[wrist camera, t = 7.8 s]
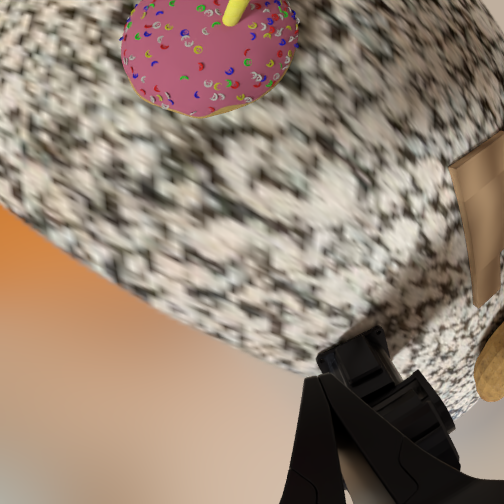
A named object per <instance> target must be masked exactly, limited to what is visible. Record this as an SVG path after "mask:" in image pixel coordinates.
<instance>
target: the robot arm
mask: <svg viewBox="0 0 504 504" xmlns="http://www.w3.org/2000/svg"><path fill="white" fill-rule="evenodd" d="M377 331H378V332H377ZM321 359H323V360H321ZM316 362H317V364H318V366H319V368H320V370H321V372H322V373H323V374H320V375H318V377H317V376H311V377H307V378H305V379H304V385H303V392H302V398H301V405H300V412H299V417H298V423H297V430H296V435H295V441H294V446H293V452H292V457H291V461H290V466H289V470H288V475H287V480H286V484H285V487H284V491H283V495H282V498H281V500H280V503H279V504H346V500H345V493H344V490H347V491H348V492H349V494H350V496H351V498H352V501H353V504H504V480H486V479H478V478H474V477H471V476H468V475H466V474H464V473H462V472H460V468H461V465H460V463H459V455H458V453H457V451H456V448H455V446H454V444H453V442H452V440H451V438H450V436H449V434H450V433H451V432H452V431H454V430H455V424H454V422H453V420H452V417H451V415H450V413H449V412H448V410H447V408H446V406H445V405H444V403H443V402H442V400H441V398H440V397H439V396H438V394H437V393H436V392H435V390H434V389H433V388H432V386H431V385H430V384H429V383H428V381H427V380H426V379H425V377H424V376H423V375H422V374H421V372H420V371H419V370H416V371H415V372H413V374H412V375H411V376H409V377H408V378H407V379H405V380H404V381H403V379H402V377H401V376H400V374H399V372H398V371H397V369H396V368H395V366H394V364H393V363H392V361H391V360H390V355H389V351H388V347H387V342H386V338H385V334H384V330H383V329H382V327H381V326H376V327H374V328H372V329H370V330H368V331H366V332H365V333H363V334H361V335H359V336H357V337H355V338H353V339H351V340H349V341H347V342H345V343H343V344H341V345H339V346H337V347H335V348H333V349H331V350H329V351H327V352H324V353H322V354H320V355H318V356H317V357H316Z"/></svg>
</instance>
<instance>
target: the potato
mask: <svg viewBox="0 0 504 504" xmlns="http://www.w3.org/2000/svg"><path fill="white" fill-rule="evenodd" d="M474 379H475V382H476V389H477V392H478V394H479V395H480V397H481V399H483V400H485V401H487V402H495V401H498V400H500V399H501V398H503V397H504V322H503V323H502V324H501V325H500V326H499V327H498V328H497V329H496V330H495V332H494V333H493V334H492V336H491V337H490V338H489V339H488V341H487V343H486V345H485V346H484V348H483V350H482V351H481V353H480V355H479V357H478V358H477V361H476V363H475V366H474Z"/></svg>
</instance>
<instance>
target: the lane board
mask: <svg viewBox="0 0 504 504" xmlns="http://www.w3.org/2000/svg"><path fill="white" fill-rule="evenodd" d="M448 168H449V172H450V175H451V178H452V182H453V186H454V189H455V193H456V197H457V201H458V205H459V209H460V214H461V218H462V223H463V228H464V233H465V239H466V244H467V251H468V257H469V265H470V273H471V282H472V294H473V305H475V306H476V307H477V308H478V309H479V308H480V307H481V306H482V305H483V304H484V303H485V302H487V301H488V300H489V299H490V298H491V297H492V296H493V295H494V294H495V293H496V292H497V291H498V290H499V289H500V288H501V278H500V252H501V251H502V250H503V249H504V131H499V132H498V133H496V134H495V135H494V136H492V137H491V138H490V139H488V140H487V141H485V142H484V143H482V144H481V145H480V146H478V147H477V148H475V149H474V150H473V151H471V152H470V153H468V154H467V155H465V156H464V157H462V158H461V159H460V160H458V161H457V162H455V163H454V164H452V165H451V166H449V167H448Z"/></svg>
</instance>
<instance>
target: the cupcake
mask: <svg viewBox="0 0 504 504" xmlns="http://www.w3.org/2000/svg"><path fill="white" fill-rule="evenodd" d="M287 3H288V4H287ZM289 5H290V3H289V2H288V1H285V0H142V1H141V2H140V3H139V4H136V6H135V9H134V10H132V12H131V16H130V17H128V18H127V24H126V25H125V27H124V33H123V37H121V38H120V39H119V41H121V40H122V47H121V57H122V63H123V66H124V69H125V72H126V74H127V75H128V78H129V81H130V83H131V85H132V87H133V89H134V91H135V92H136V93H137V95H138V96H139V97H140V98H142V99H143V100H145V101H146V102H148V103H150V104H153V105H156V106H158V107H161V108H163V109H167V110H170V111H173V112H176V113H180V114H183V115H186V116H189V117H193V118H207V117H211V116H214V115H218V114H222V113H226V112H229V111H232V110H235V109H238V108H240V107H243V106H246V105H248V104H250V103H252V102H254V101H256V100H258V99H259V98H261V97H262V96H264V95H265V94H267V93H268V92H269V91H270V90H272V89H273V88H274V87H275V86H276V85H277V84H278V83H279V82H280V80H281V79H282V78H283V76H284V75H285V73H286V71H287V70H288V68H289V66H290V64H291V61H292V59H293V56H294V53H295V50H296V48H298V47H299V45H298V43H297V40H298V36H299V35H298V31H299V30H298V24H299V23H300V19H299V18H295V14H296V13H295V11H293V10H291V8H290V6H289ZM293 13H294V14H293Z"/></svg>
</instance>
